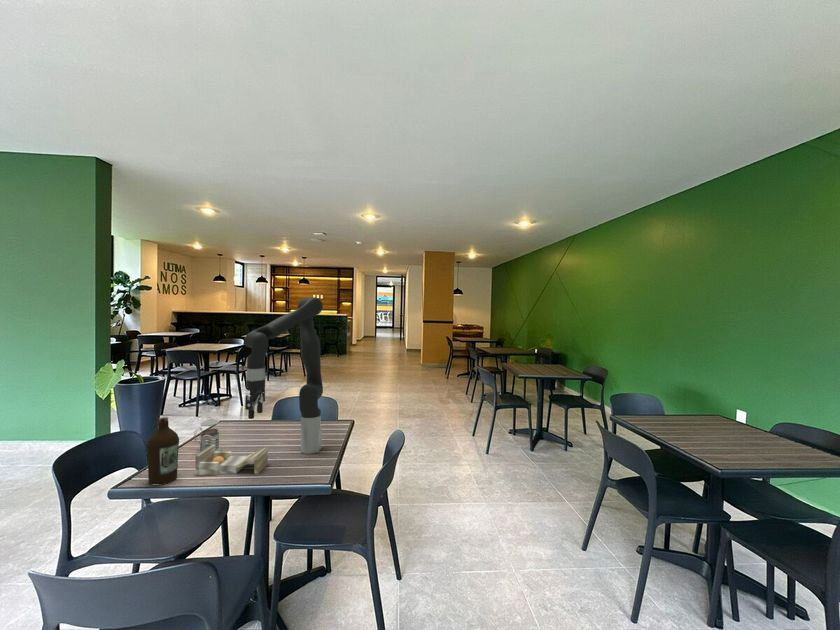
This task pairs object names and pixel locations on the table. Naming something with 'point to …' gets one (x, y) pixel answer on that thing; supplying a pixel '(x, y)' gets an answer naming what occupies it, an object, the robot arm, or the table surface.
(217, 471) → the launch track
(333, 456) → the table surface
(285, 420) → the table surface
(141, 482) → the table surface
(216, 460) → the ball
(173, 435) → the olive oil
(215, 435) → the french press
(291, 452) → the table surface
